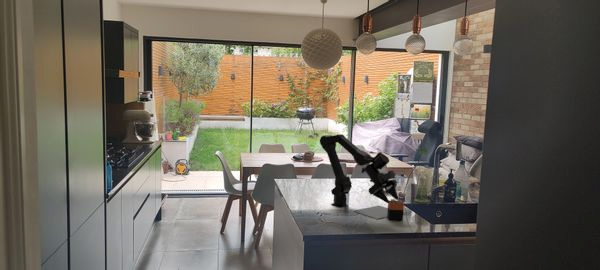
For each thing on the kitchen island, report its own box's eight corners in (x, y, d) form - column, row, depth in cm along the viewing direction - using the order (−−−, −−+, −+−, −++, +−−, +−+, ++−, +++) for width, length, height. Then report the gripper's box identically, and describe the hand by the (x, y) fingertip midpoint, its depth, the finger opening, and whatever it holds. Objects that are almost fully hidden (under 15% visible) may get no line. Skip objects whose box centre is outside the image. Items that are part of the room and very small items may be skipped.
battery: (386, 218, 210) (388, 198, 209) (400, 218, 210) (402, 198, 209) (389, 221, 206) (390, 200, 205) (403, 221, 206) (404, 201, 205)
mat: (353, 211, 220) (353, 210, 220) (378, 206, 233) (378, 205, 232) (377, 219, 208) (377, 218, 208) (403, 213, 220) (403, 212, 220)
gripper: (375, 167, 203) (394, 194, 197) (395, 163, 217) (413, 188, 211) (360, 180, 209) (378, 207, 203) (380, 176, 223) (398, 201, 217)
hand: (393, 200), depth 208 cm, fingers open, 9 cm apart
